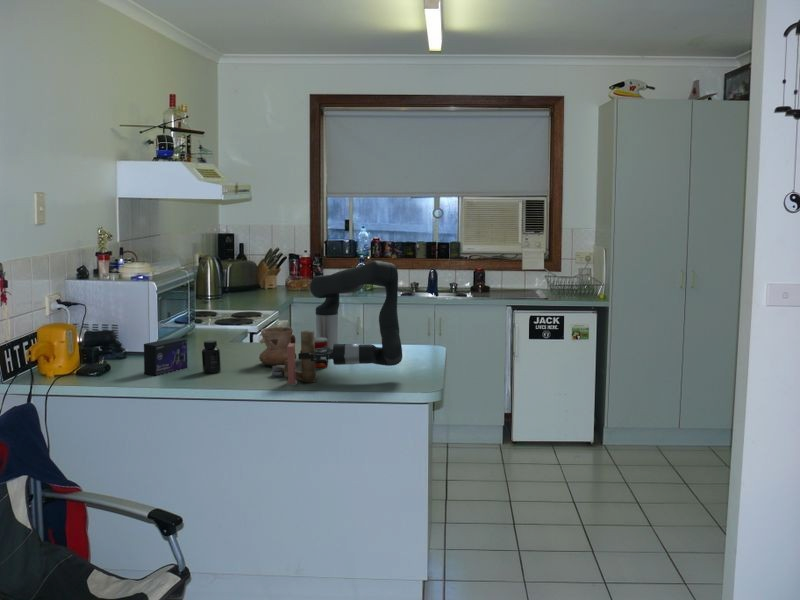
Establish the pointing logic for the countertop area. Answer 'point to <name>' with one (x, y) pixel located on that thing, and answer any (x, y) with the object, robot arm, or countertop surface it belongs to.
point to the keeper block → (291, 365)
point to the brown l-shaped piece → (307, 365)
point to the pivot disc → (278, 374)
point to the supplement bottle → (211, 358)
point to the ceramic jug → (276, 345)
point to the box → (165, 356)
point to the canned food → (320, 343)
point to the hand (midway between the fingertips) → (299, 354)
